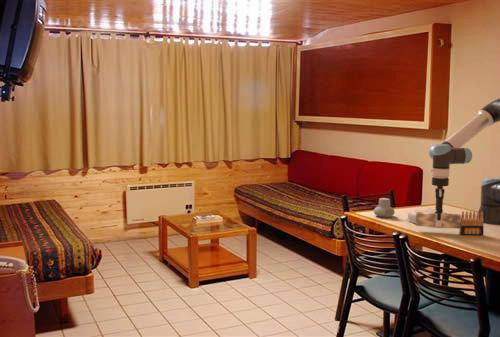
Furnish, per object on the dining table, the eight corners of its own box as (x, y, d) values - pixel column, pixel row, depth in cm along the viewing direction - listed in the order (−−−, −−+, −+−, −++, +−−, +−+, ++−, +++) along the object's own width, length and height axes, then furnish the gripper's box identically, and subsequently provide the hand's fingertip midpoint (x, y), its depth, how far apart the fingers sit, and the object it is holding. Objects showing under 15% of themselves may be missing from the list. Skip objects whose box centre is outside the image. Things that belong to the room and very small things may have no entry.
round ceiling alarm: (424, 230, 269) (425, 218, 268) (393, 220, 292) (393, 208, 291) (464, 226, 279) (464, 214, 278) (430, 216, 301) (431, 205, 301)
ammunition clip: (460, 236, 256) (461, 211, 255) (459, 235, 258) (460, 210, 257) (483, 236, 256) (484, 211, 255) (481, 235, 258) (483, 210, 256)
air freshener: (386, 214, 304) (387, 196, 303) (396, 217, 297) (397, 199, 296) (371, 216, 299) (371, 198, 298) (381, 219, 292) (382, 201, 290)
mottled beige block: (459, 226, 260) (460, 214, 259) (460, 228, 256) (461, 216, 255) (415, 223, 266) (416, 211, 265) (415, 225, 262) (416, 213, 261)
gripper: (431, 174, 267) (429, 221, 270) (432, 179, 251) (430, 229, 254) (447, 175, 265) (445, 222, 268) (450, 180, 249) (447, 230, 252)
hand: (438, 225), depth 261 cm, fingers closed on mottled beige block, 4 cm apart
